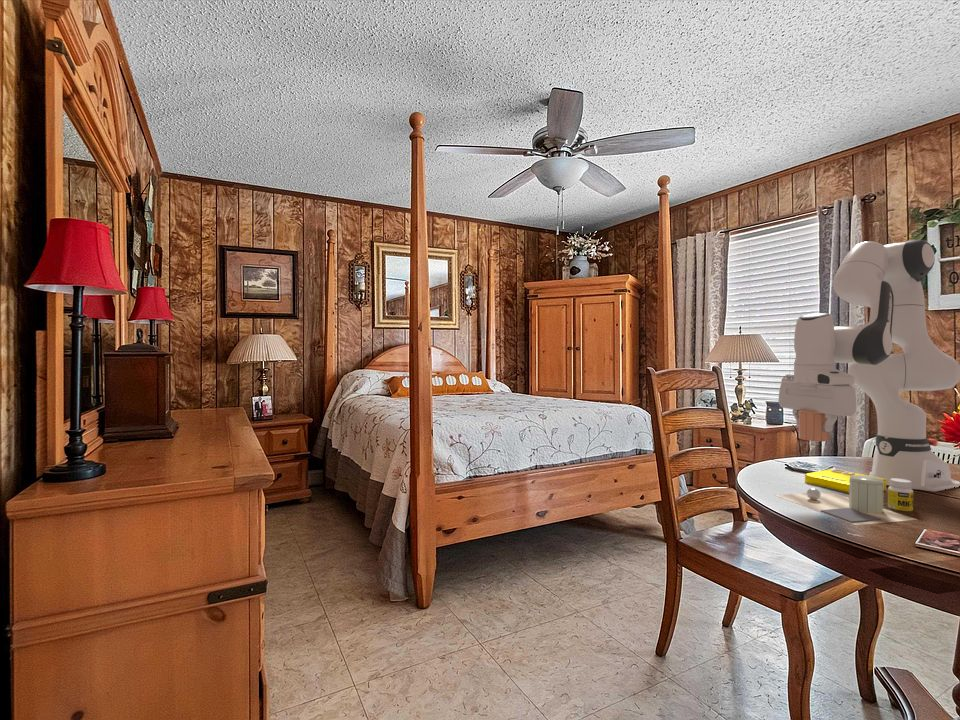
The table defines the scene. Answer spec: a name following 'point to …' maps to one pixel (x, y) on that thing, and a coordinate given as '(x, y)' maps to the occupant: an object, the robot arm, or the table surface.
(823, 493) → the birch board
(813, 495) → the steel marble
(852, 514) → the charcoal mat
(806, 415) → the terracotta cup
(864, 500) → the sage cup
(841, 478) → the element tile
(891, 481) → the supplement bottle
